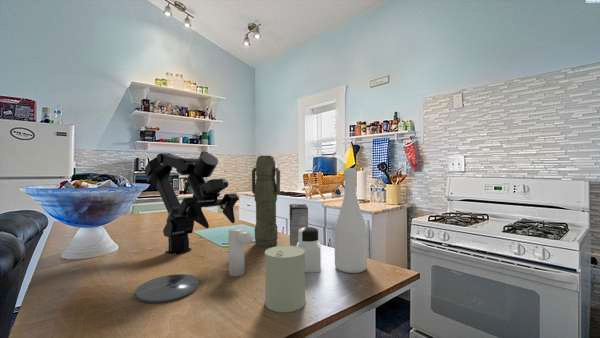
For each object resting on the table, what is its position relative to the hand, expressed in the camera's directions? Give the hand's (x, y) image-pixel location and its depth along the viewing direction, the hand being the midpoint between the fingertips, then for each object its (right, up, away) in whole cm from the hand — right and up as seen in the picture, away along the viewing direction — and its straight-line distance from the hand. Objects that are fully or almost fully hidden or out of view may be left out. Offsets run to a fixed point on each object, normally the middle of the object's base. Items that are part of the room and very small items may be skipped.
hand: (221, 224), depth 85 cm
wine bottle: (+39, -13, -1) cm, 41 cm away
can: (+21, -13, -22) cm, 33 cm away
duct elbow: (+7, -13, -6) cm, 16 cm away
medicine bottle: (+26, -13, -1) cm, 29 cm away
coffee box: (+23, -13, +20) cm, 33 cm away
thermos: (+11, -13, +26) cm, 31 cm away
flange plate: (-9, -13, -15) cm, 22 cm away
